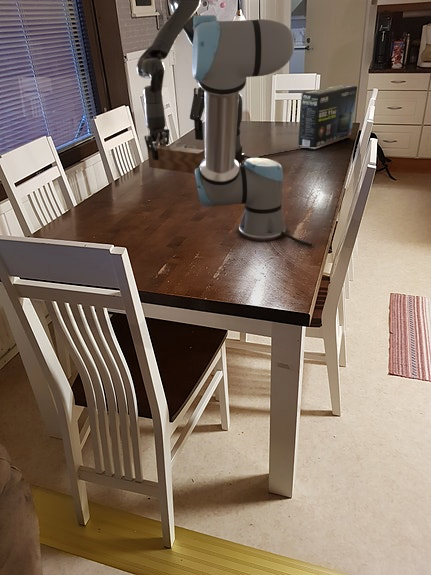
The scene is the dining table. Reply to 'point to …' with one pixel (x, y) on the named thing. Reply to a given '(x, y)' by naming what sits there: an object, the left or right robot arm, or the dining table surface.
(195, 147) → the fossil
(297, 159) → the dining table surface
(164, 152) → the bar
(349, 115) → the router box
